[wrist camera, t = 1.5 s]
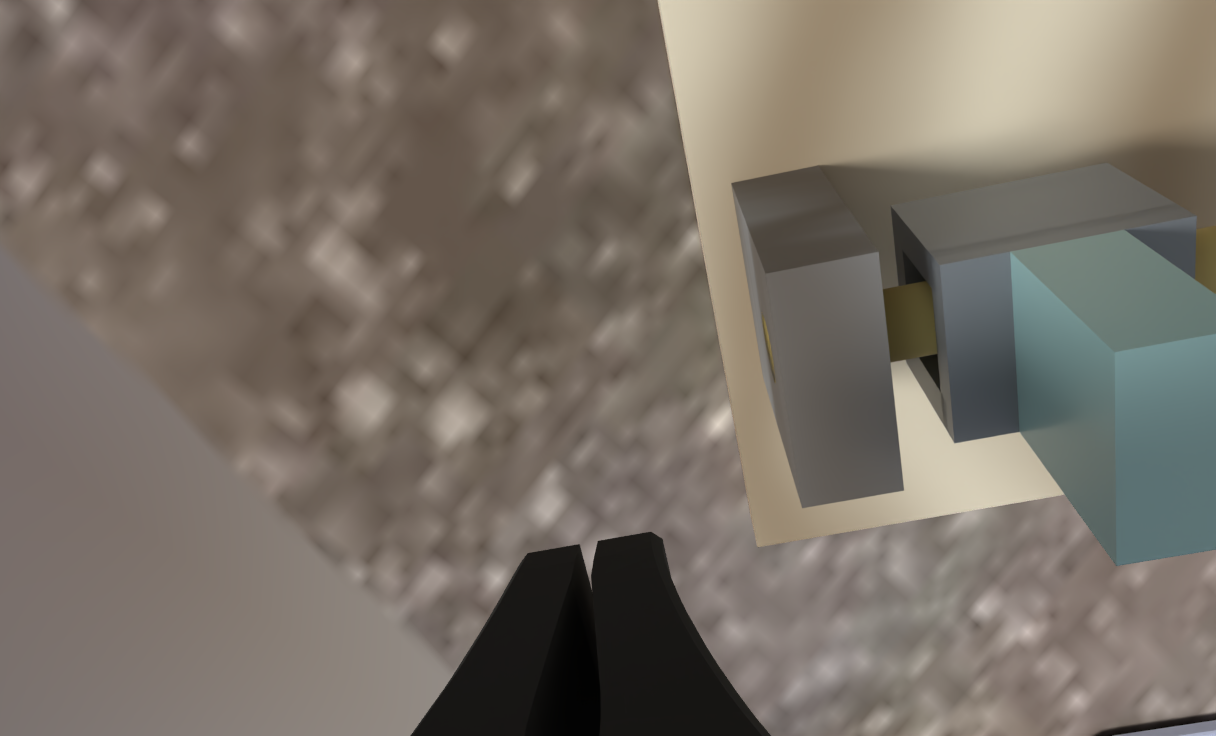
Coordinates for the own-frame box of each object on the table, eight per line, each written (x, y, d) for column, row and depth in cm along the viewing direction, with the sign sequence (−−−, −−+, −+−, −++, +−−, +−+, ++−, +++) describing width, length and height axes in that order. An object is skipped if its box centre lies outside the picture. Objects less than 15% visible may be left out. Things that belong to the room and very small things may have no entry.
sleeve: (1107, 162, 18) (1351, 308, 12) (1108, 324, 19) (1332, 530, 13) (890, 205, 18) (1024, 368, 12) (906, 362, 19) (1035, 579, 13)
